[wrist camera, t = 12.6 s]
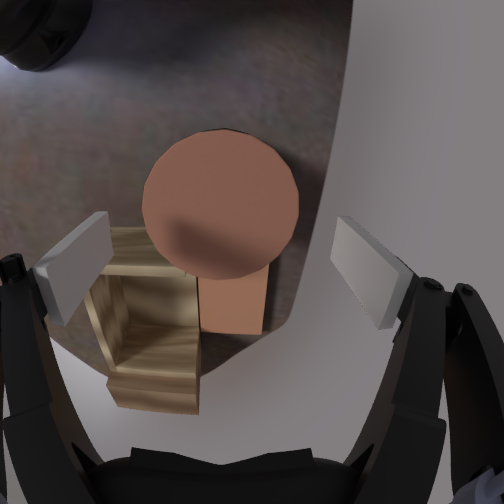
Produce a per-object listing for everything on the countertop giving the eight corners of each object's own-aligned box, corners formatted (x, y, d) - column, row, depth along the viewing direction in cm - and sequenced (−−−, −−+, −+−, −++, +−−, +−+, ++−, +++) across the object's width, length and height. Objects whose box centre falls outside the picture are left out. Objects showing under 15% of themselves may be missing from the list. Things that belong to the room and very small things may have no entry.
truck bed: (108, 226, 35) (63, 276, 23) (195, 226, 37) (181, 282, 24) (134, 347, 46) (118, 407, 33) (201, 351, 47) (198, 415, 35)
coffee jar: (277, 146, 33) (326, 168, 17) (245, 219, 37) (261, 297, 21) (199, 116, 30) (171, 106, 14) (170, 192, 34) (126, 254, 18)
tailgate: (196, 229, 36) (272, 233, 36) (197, 227, 37) (271, 230, 37) (201, 331, 44) (261, 334, 44) (201, 327, 44) (261, 330, 45)
